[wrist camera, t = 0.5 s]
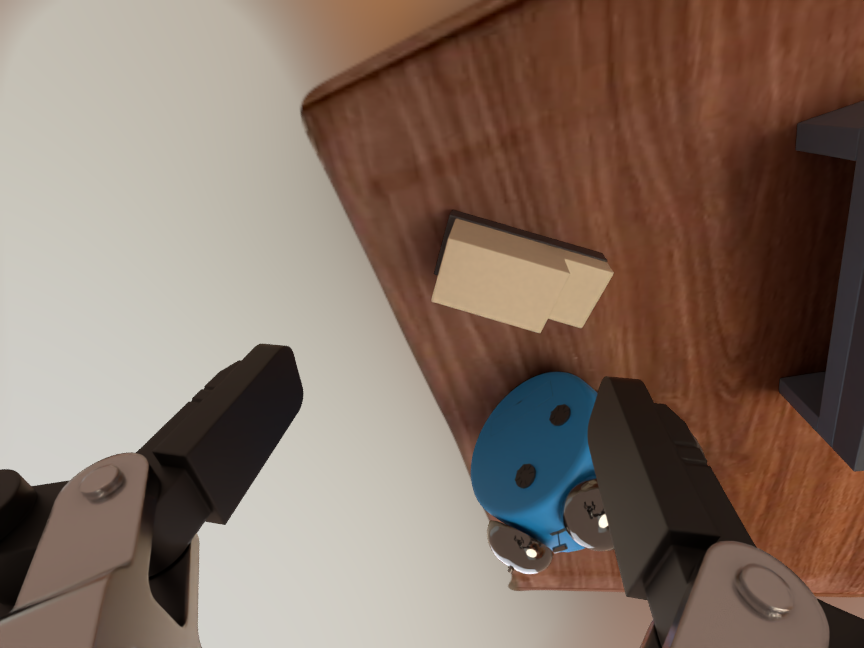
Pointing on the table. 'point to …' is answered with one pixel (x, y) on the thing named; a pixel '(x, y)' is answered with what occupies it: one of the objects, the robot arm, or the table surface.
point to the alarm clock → (540, 474)
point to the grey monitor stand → (839, 303)
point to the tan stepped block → (516, 274)
